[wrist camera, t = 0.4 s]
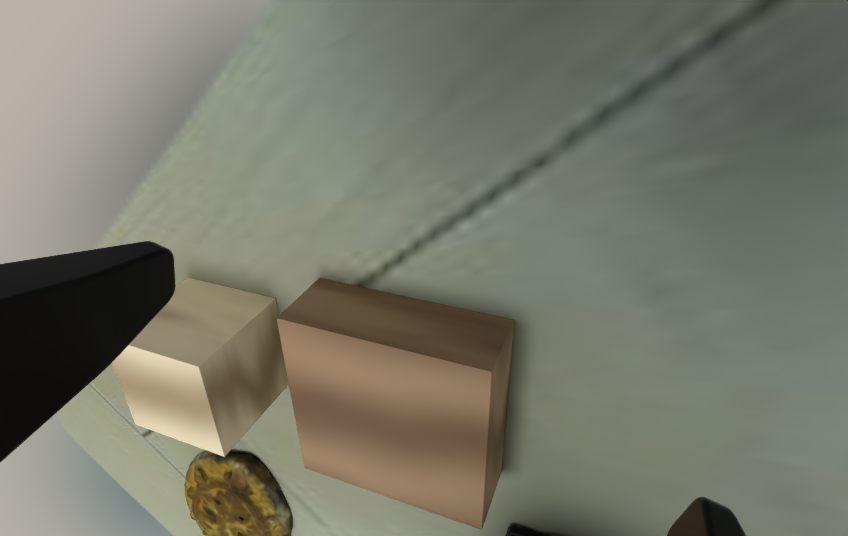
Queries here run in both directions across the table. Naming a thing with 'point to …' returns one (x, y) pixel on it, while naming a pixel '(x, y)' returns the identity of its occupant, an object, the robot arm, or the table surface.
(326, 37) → the table surface
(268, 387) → the maple cube
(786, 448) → the table surface
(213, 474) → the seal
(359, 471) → the walnut block
